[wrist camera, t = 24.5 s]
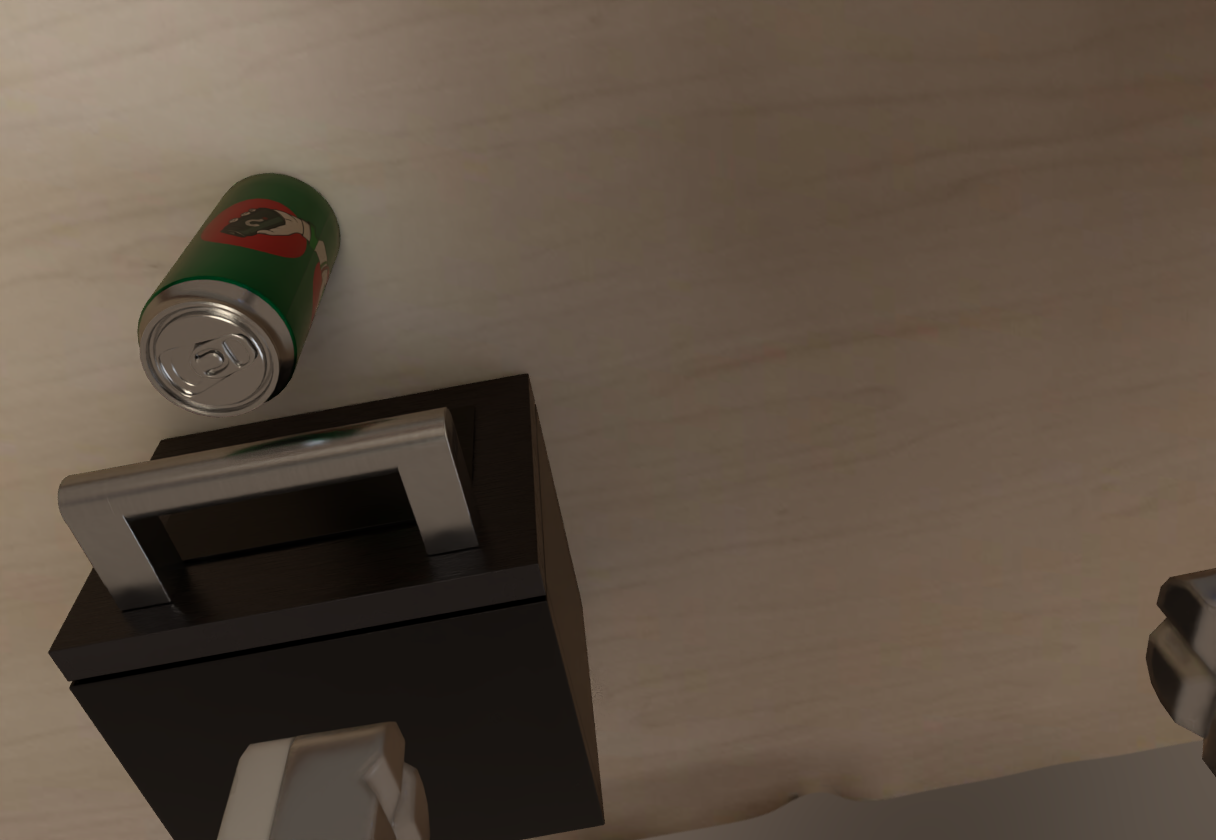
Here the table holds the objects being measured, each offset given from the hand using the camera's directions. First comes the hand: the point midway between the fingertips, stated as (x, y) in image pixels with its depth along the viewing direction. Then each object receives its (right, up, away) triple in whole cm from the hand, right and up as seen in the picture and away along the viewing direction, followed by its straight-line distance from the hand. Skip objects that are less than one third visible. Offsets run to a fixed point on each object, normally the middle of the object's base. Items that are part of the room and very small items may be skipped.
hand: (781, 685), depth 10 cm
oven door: (-15, +5, +34) cm, 38 cm away
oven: (-13, -4, +40) cm, 43 cm away
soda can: (-16, +11, +31) cm, 36 cm away
